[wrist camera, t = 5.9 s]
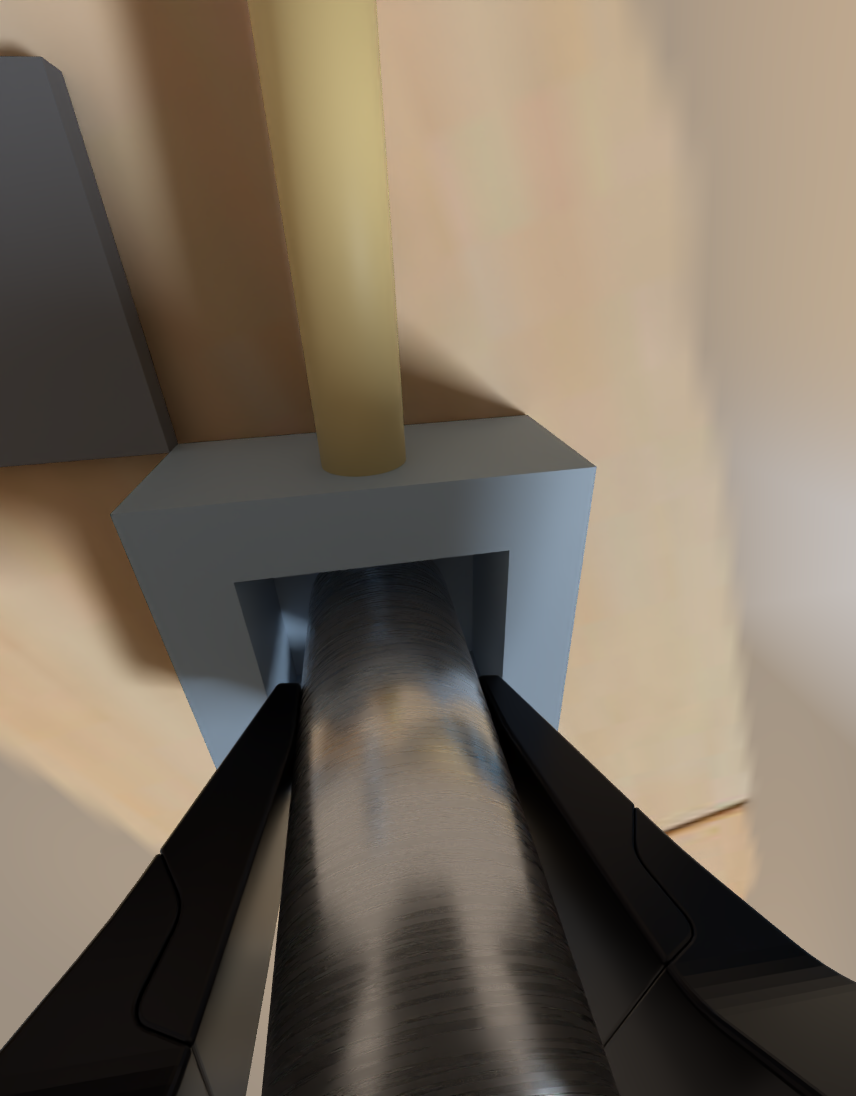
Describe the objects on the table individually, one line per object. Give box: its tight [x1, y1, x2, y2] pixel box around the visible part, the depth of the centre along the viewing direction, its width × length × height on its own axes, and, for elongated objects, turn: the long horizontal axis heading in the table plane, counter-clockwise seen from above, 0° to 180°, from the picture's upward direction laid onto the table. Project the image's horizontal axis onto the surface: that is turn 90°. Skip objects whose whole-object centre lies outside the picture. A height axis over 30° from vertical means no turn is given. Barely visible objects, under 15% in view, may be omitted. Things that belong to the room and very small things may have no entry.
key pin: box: [262, 559, 620, 1096], centre depth 8 cm, size 3×3×9 cm
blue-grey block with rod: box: [110, 0, 596, 769], centre depth 9 cm, size 16×8×4 cm, turn 2°
